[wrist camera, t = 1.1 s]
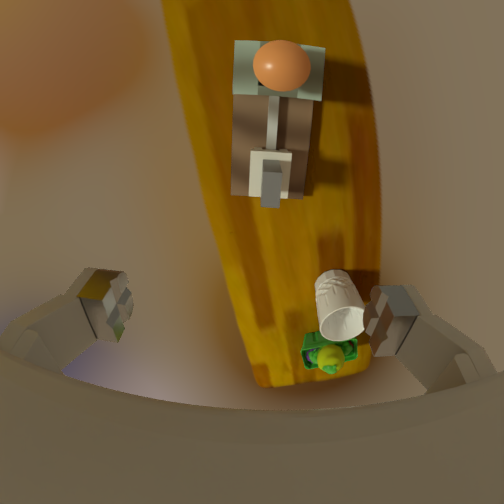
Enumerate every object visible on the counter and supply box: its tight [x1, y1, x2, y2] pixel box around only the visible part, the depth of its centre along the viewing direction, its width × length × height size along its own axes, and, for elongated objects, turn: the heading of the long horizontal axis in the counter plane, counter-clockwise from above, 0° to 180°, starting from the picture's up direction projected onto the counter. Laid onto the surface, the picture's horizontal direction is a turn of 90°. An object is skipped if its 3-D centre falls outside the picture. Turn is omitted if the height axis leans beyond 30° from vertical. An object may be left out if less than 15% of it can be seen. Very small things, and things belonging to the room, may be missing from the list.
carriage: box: [249, 147, 292, 208], centre depth 32 cm, size 6×5×8 cm
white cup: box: [315, 269, 365, 341], centre depth 44 cm, size 8×8×10 cm
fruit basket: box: [301, 331, 358, 374], centre depth 51 cm, size 11×9×11 cm
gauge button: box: [253, 40, 311, 92], centre depth 21 cm, size 5×5×4 cm
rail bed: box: [231, 40, 325, 199], centre depth 30 cm, size 20×10×8 cm, turn 177°
